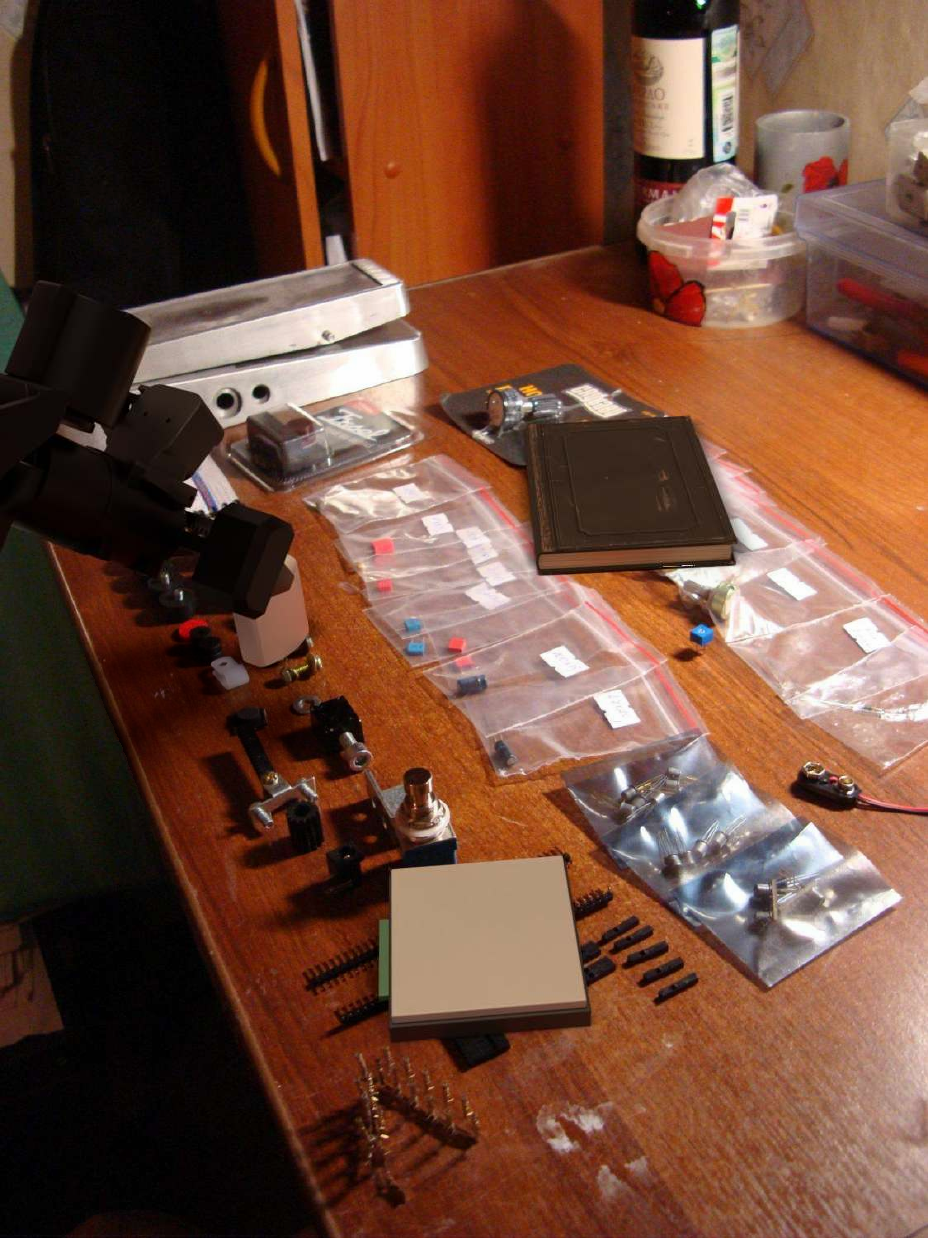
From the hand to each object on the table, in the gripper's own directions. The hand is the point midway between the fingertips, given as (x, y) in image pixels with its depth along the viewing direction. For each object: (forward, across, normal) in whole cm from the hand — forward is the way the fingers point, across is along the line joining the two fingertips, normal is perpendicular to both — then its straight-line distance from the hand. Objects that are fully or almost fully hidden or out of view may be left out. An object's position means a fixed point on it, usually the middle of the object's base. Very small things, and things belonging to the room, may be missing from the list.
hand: (240, 564), depth 79 cm
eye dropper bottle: (+8, 0, +5) cm, 10 cm away
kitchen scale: (-3, -29, +16) cm, 33 cm away
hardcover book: (+31, -11, -18) cm, 38 cm away
